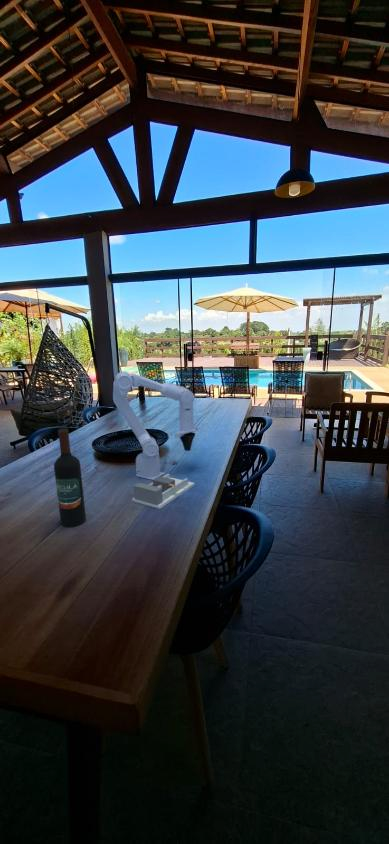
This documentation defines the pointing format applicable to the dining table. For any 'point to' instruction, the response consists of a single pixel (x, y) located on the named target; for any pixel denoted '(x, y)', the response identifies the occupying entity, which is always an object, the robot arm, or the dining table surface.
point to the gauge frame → (160, 492)
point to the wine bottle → (69, 484)
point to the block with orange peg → (163, 483)
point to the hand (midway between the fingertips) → (187, 450)
